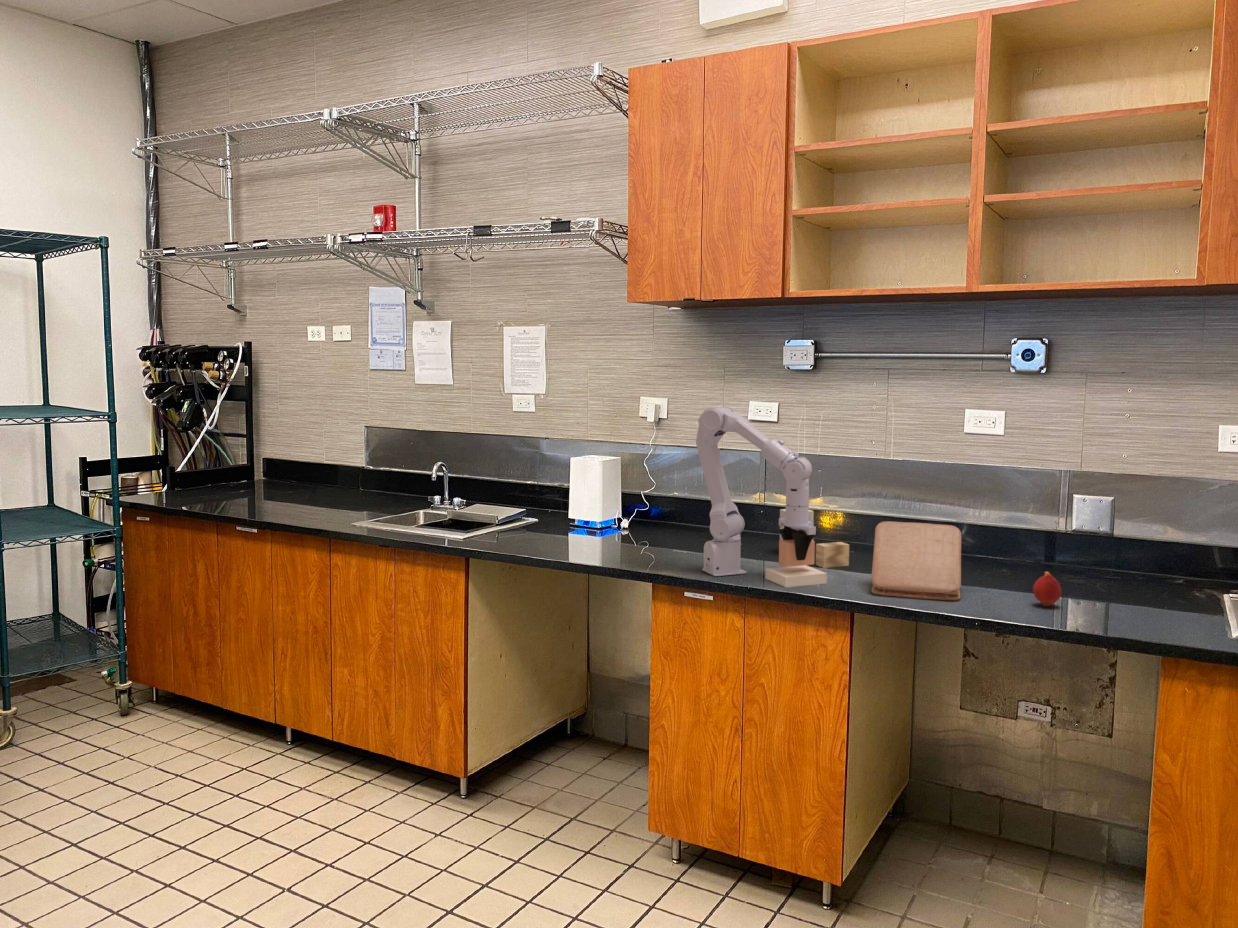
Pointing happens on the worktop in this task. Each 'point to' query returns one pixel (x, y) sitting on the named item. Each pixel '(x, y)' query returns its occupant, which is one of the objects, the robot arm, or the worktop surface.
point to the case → (917, 561)
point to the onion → (1047, 589)
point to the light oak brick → (832, 554)
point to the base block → (796, 576)
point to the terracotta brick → (794, 554)
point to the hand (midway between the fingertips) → (796, 557)
